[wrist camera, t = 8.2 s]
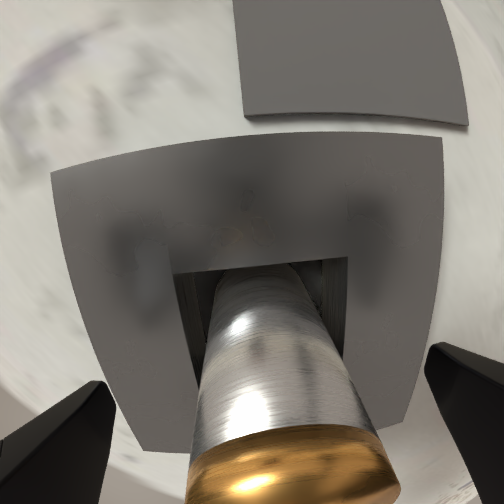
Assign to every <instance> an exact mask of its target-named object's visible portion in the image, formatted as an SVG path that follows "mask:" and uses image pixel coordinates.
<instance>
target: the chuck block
mask: <svg viewBox="0 0 504 504" xmlns="http://www.w3.org/2000/svg"><path fill="white" fill-rule="evenodd" d="M50 174H51V182H52V190H53V197H54V204H55V210H56V216H57V222H58V227H59V232H60V237H61V242H62V247H63V251H64V255H65V260H66V264H67V268H68V272H69V275H70V279H71V283H72V286H73V290H74V293H75V296H76V300H77V303H78V306H79V309H80V312H81V315H82V318H83V321H84V324H85V327H86V330H87V333H88V335H89V338H90V341H91V343H92V346H93V349H94V351H95V354H96V356H97V359H98V361H99V364H100V366H101V368H102V371H103V373H104V375H105V378H106V380H107V382H108V384H109V386H110V389H111V391H112V393H113V395H114V397H115V399H116V401H117V403H118V405H119V407H120V409H121V411H122V413H123V415H124V417H125V419H126V421H127V423H128V424H129V426H130V428H131V430H132V432H133V434H134V435H135V437H136V439H137V441H138V442H139V444H140V446H141V447H142V449H143V451H152V452H166V453H191V447H192V439H193V432H194V424H195V417H196V410H197V403H198V396H199V390H200V383H201V376H202V370H203V363H204V357H205V351H206V340H205V335H204V330H203V325H202V320H201V315H200V309H199V304H198V298H197V292H196V287H195V281H194V275H193V272H200V271H210V270H221V269H231V268H242V267H252V266H262V265H271V264H281V263H291V262H300V261H310V260H319V259H322V321H323V323H324V325H325V327H326V329H327V331H328V333H329V335H330V337H331V339H332V341H333V343H334V345H335V347H336V349H337V351H338V353H339V355H340V357H341V359H342V361H343V363H344V365H345V367H346V369H347V371H348V373H349V375H350V377H351V380H352V382H353V384H354V386H355V388H356V390H357V392H358V394H359V396H360V398H361V400H362V402H363V405H364V407H365V409H366V411H367V413H368V415H369V417H370V419H371V421H372V424H373V426H374V428H375V430H377V429H381V428H384V427H388V426H391V425H394V424H397V423H400V422H403V419H404V416H405V414H406V411H407V408H408V405H409V402H410V399H411V396H412V393H413V390H414V386H415V383H416V380H417V376H418V373H419V369H420V366H421V362H422V358H423V354H424V350H425V346H426V342H427V338H428V333H429V329H430V324H431V319H432V314H433V308H434V302H435V296H436V290H437V283H438V276H439V268H440V259H441V248H442V235H443V217H444V162H443V144H442V137H433V136H423V135H411V134H397V133H379V132H294V133H274V134H260V135H247V136H237V137H227V138H218V139H209V140H202V141H194V142H187V143H180V144H174V145H168V146H162V147H156V148H151V149H145V150H140V151H135V152H130V153H125V154H121V155H116V156H112V157H107V158H103V159H99V160H95V161H91V162H87V163H83V164H79V165H75V166H71V167H68V168H64V169H61V170H57V171H54V172H51V173H50Z"/></svg>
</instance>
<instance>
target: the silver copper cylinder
mask: <svg viewBox="0 0 504 504" xmlns="http://www.w3.org/2000/svg"><path fill="white" fill-rule="evenodd" d="M400 491H401V486H400V483H399V481H398V479H397V477H396V474H395V472H394V470H393V468H392V465H391V463H390V461H389V459H388V456H387V454H386V452H385V450H384V448H383V445H382V443H381V441H380V439H379V437H378V434H377V432H376V430H375V428H374V426H373V424H372V421H371V419H370V417H369V415H368V413H367V411H366V409H365V407H364V405H363V402H362V400H361V398H360V396H359V394H358V392H357V390H356V388H355V386H354V384H353V382H352V380H351V377H350V375H349V373H348V371H347V369H346V367H345V365H344V363H343V361H342V359H341V357H340V355H339V353H338V351H337V349H336V347H335V345H334V343H333V341H332V339H331V337H330V335H329V333H328V331H327V329H326V327H325V325H324V323H323V321H322V319H321V317H320V315H319V313H318V311H317V310H316V308H315V306H314V304H313V302H312V300H311V298H310V296H309V294H308V292H307V290H306V288H305V286H304V284H303V283H302V281H301V279H300V277H299V275H298V274H297V273H296V271H295V270H294V269H293V268H292V267H291V266H289V265H288V264H286V263H281V264H271V265H262V266H252V267H242V268H231V269H228V270H227V271H226V272H225V273H224V274H223V275H222V277H221V278H220V280H219V282H218V284H217V287H216V292H215V297H214V303H213V308H212V314H211V320H210V326H209V332H208V338H207V345H206V351H205V357H204V363H203V370H202V376H201V383H200V390H199V396H198V403H197V410H196V417H195V424H194V432H193V439H192V447H191V454H190V462H189V470H188V478H187V487H186V495H185V504H393V503H394V502H395V501H396V499H397V498H398V496H399V495H400Z"/></svg>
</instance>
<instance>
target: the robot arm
mask: <svg viewBox="0 0 504 504" xmlns="http://www.w3.org/2000/svg"><path fill="white" fill-rule="evenodd" d="M424 373H425V377H426V379H427V381H428V384H429V386H430V388H431V391H432V393H433V396H434V398H435V401H436V403H437V406H438V408H439V411H440V413H441V415H442V417H443V419H444V421H445V423H446V425H447V427H448V429H449V431H450V433H451V435H452V437H453V439H454V441H455V443H456V445H457V447H458V449H459V451H460V454H461V456H462V458H463V460H464V462H465V464H466V466H467V469H468V471H469V473H470V475H471V478H472V480H473V482H474V485H475V487H476V489H477V492H478V494H479V497H480V499H481V501H482V504H504V364H503V363H500V362H498V361H495V360H492V359H489V358H487V357H484V356H481V355H478V354H476V353H473V352H470V351H467V350H465V349H462V348H459V347H456V346H454V345H451V344H448V343H446V342H439V343H436V344H433V345H431V347H430V348H429V352H428V355H427V359H426V363H425V367H424ZM115 414H116V404H115V401H114V399H113V397H112V395H111V393H110V390H109V388H108V386H107V384H106V383H105V382H103V381H94V380H93V381H90V382H88V383H87V384H85V385H84V386H82V387H81V388H79V389H78V390H76V391H75V392H73V393H72V394H70V395H69V396H67V397H66V398H64V399H63V400H61V401H60V402H58V403H57V404H55V405H54V406H52V407H51V408H49V409H48V410H46V411H45V412H43V413H42V414H40V415H39V416H37V417H36V418H34V419H33V420H31V421H30V422H28V423H27V424H25V425H23V426H22V427H20V428H19V429H17V430H16V431H14V432H13V433H11V434H10V435H8V436H7V437H5V438H4V440H0V504H98V502H99V497H100V493H101V488H102V484H103V479H104V475H105V471H106V467H107V462H108V458H109V454H110V448H111V441H112V433H113V427H114V420H115Z"/></svg>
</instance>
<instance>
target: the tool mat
mask: <svg viewBox="0 0 504 504" xmlns="http://www.w3.org/2000/svg"><path fill="white" fill-rule="evenodd" d="M233 9H234V19H235V29H236V39H237V49H238V59H239V70H240V80H241V90H242V101H243V111H244V117H252V116H266V115H286V114H358V115H377V116H391V117H402V118H412V119H421V120H428V121H436V122H443V123H449V124H455V125H461V126H469V121H468V113H467V105H466V98H465V92H464V86H463V81H462V76H461V71H460V66H459V62H458V57H457V53H456V49H455V45H454V42H453V38H452V34H451V31H450V28H449V24H448V21H447V18H446V15H445V12H444V9H443V6H442V4H441V1H440V0H233Z"/></svg>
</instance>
